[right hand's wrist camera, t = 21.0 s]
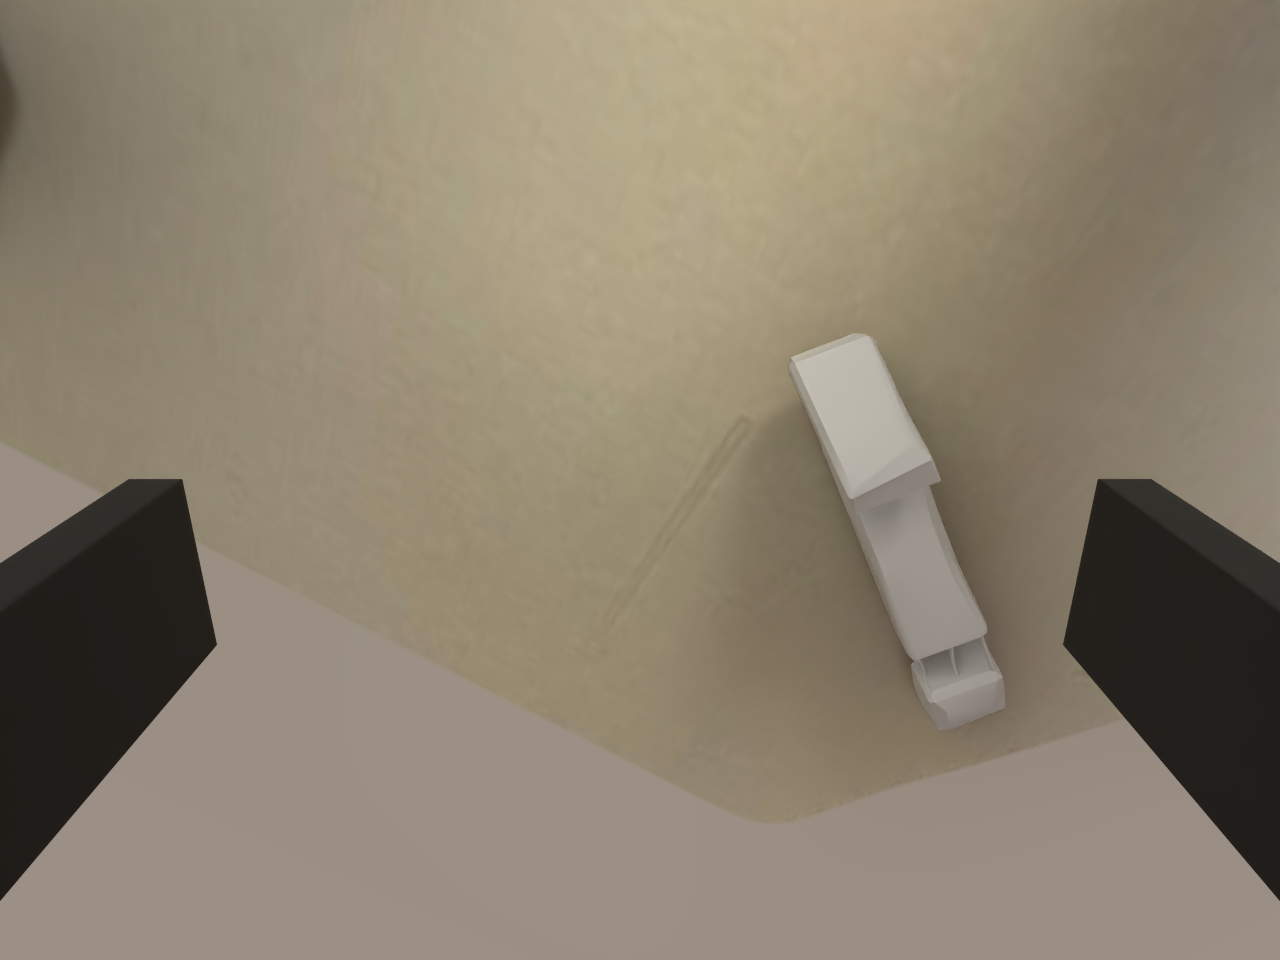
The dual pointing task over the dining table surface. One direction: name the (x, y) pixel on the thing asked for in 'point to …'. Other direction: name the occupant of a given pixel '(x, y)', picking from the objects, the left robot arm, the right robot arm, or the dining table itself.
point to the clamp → (900, 526)
